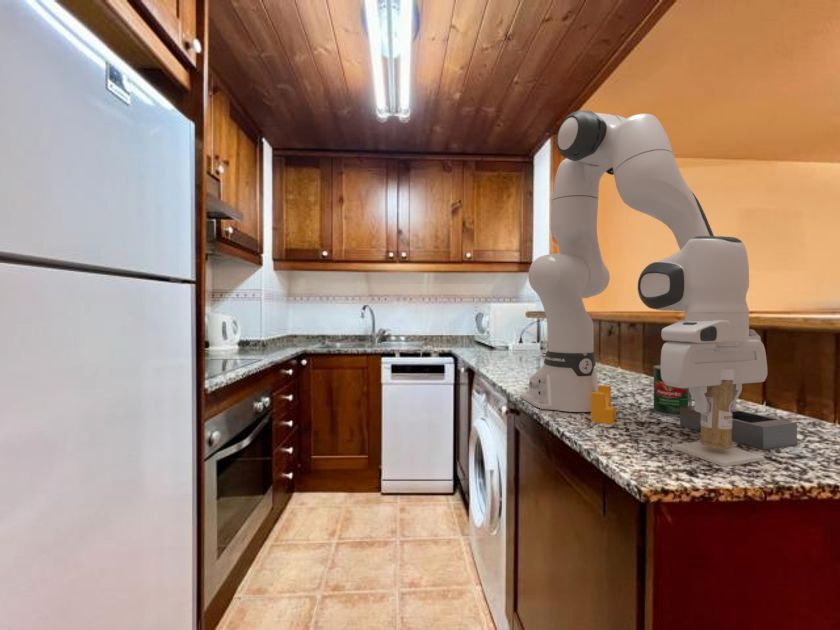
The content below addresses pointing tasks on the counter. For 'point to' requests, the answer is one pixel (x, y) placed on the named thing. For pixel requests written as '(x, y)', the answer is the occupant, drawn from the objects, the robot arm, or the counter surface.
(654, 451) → the counter surface
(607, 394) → the orange stepped block
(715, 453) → the plate
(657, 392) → the canned tomato
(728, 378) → the sprinkles bottle
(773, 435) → the grey open box
